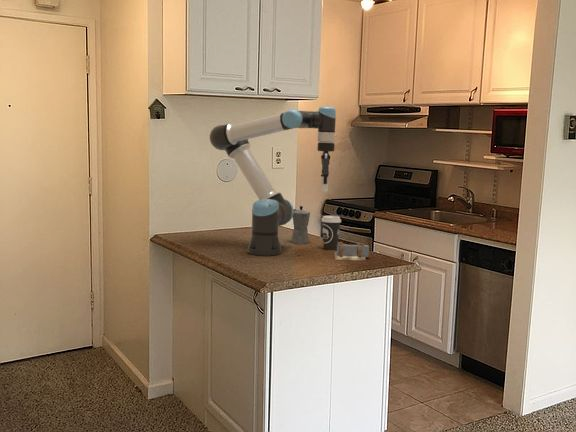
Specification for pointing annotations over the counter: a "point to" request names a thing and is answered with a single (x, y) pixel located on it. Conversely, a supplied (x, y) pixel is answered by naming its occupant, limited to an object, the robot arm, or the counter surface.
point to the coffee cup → (330, 231)
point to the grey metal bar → (353, 250)
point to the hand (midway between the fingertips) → (324, 190)
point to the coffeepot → (300, 226)
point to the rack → (349, 256)
